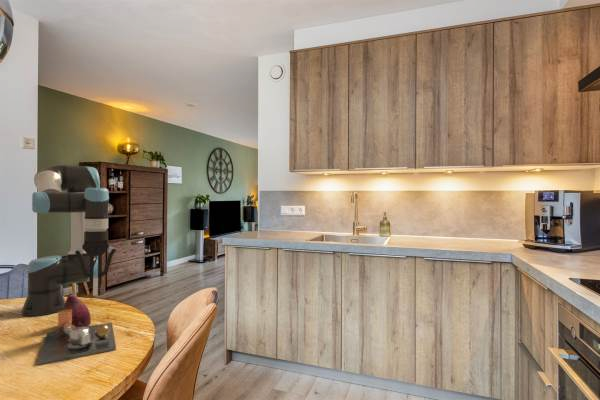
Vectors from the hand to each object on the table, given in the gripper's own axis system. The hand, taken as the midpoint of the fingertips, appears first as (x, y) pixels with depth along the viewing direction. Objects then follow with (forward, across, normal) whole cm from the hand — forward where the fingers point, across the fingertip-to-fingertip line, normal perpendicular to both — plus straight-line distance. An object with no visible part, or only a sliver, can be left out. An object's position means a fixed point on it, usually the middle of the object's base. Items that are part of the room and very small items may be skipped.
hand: (95, 294), depth 124 cm
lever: (+11, -6, -9) cm, 16 cm away
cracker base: (+14, -4, -8) cm, 16 cm away
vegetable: (+15, -6, +12) cm, 20 cm away
